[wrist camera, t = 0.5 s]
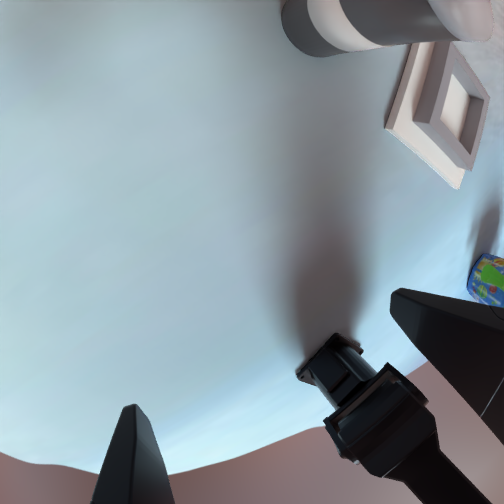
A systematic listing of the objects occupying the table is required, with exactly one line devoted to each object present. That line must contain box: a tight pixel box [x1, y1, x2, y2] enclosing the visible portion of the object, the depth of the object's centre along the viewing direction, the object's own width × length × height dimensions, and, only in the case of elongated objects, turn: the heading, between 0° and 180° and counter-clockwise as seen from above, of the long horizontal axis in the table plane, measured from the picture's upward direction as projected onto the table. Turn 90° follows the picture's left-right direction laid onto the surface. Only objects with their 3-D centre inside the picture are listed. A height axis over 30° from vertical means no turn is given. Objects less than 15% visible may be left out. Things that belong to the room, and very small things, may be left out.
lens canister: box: [282, 0, 494, 57], centre depth 12 cm, size 6×6×13 cm
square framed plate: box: [385, 41, 490, 190], centre depth 24 cm, size 14×14×3 cm
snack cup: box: [467, 254, 504, 308], centre depth 37 cm, size 16×10×10 cm
